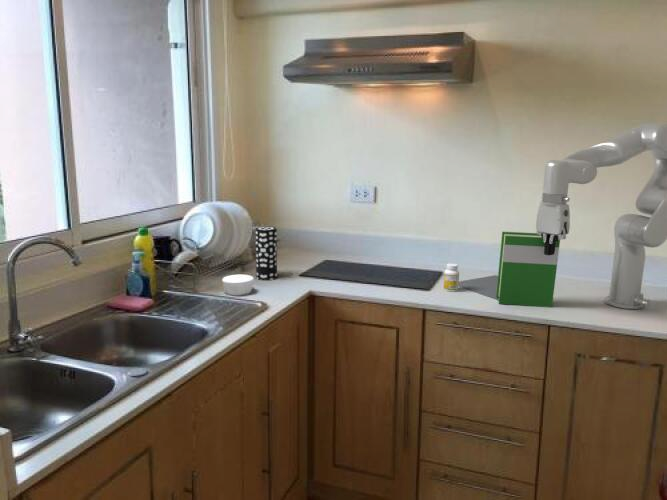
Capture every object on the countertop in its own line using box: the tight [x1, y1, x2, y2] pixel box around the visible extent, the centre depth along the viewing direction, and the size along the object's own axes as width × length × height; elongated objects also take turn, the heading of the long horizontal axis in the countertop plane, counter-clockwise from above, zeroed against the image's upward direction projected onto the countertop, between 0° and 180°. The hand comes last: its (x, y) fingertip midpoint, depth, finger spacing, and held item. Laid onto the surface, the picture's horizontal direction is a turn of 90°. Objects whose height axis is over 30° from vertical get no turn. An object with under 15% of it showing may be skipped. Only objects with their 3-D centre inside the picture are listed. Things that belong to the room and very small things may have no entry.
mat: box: [458, 274, 499, 301], centre depth 217 cm, size 26×24×1 cm
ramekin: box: [221, 273, 255, 296], centre depth 207 cm, size 11×11×5 cm
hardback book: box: [496, 231, 561, 308], centre depth 196 cm, size 18×7×24 cm, turn 82°
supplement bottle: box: [443, 263, 460, 292], centre depth 212 cm, size 5×5×10 cm
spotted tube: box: [254, 226, 278, 281], centre depth 225 cm, size 8×8×20 cm
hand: (549, 254), depth 188 cm, fingers closed
